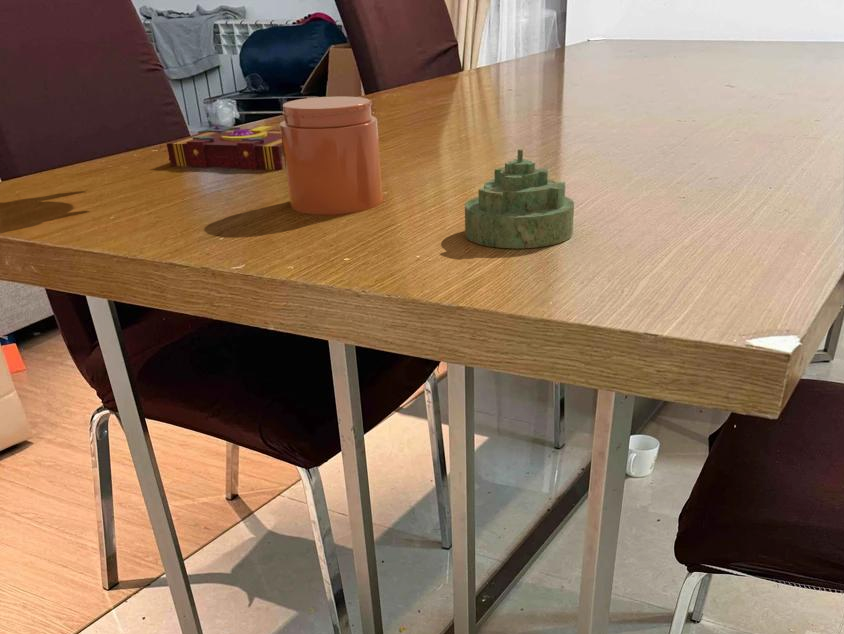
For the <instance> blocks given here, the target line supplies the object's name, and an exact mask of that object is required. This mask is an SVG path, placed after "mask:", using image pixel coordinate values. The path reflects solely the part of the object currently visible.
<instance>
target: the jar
mask: <svg viewBox="0 0 844 634" xmlns="http://www.w3.org/2000/svg"><path fill="white" fill-rule="evenodd" d="M372 105H373V101H372V100H371V99H369V98H366V97H361V96H347V95H346V96H345V95H343V96H337V95H335V96H319V97H317V96H316V97H307V98H299V99H294V100H289V101H286V102H284V103H283V104H282V110H283V111H282V116H283V117H284V120H282V121H281V122H280V123H279V128H280V129H279V130H281V137H282V145H283V152H284V159H285V167H284V168H285V173H286V180H287V181H286V182H287V187H288V196H289V203H290V208H291V209H292V210H294V211H295V212H298V213H304V214H309V215H344V214H353V213H358V212H364V211H368V210H371V209H374V208H377V207H379V206H380V205H382V204H383V202H384V195H383V182H382V169H381V168H382V167H381V154H380V139H379V138H380V137H379V129H378V128H379V127H378V126H379V125H378V118H377V117H376V116H373V115H372Z"/></svg>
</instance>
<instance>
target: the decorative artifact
mask: <svg viewBox="0 0 844 634" xmlns="http://www.w3.org/2000/svg"><path fill="white" fill-rule="evenodd" d="M523 157H524V150H523V149H521V148H520V149H517V158H515V159H512V160H510V161H508V162H505V163H504V166H503V167H498V168H496V169H494V178H493V179H490V180H487V181H486V182H484V183H483V188H479V189H478V196H476V197H473V198H471V199H468V200H467V201H466V202H465V203H464V235H465V238H466V239H467V240H468V241H470V242H472V243H474V244H476V245H480V246H483V247H489V248H497V249H510V250H512V249H514V250H515V249H516V250H517V249H520V250H521V249H523V250H524V249H536V248H542V247H549V246H550V247H551V246H554V245H557V244H561V243H564V242H565V241H567V240H569V239H571V237H572V236H573V232H574V215H575V214H574V213H575V201H574V200H573V199H572V198H570V197H568V196H566V185H567V184H566V182H565V181H564V182H555V180H552V179H550V178H549V170H548V169H546V168H536V162H532V161H531V160H529V159H525V158H523Z"/></svg>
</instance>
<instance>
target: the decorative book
mask: <svg viewBox="0 0 844 634" xmlns="http://www.w3.org/2000/svg"><path fill="white" fill-rule="evenodd" d="M166 147H167V148H166V149H167V153H168V161H169V163H170V166H171V167H187V168H188V167H189V168H199V169H200V168H202V169H203V168H204V169H207V168H215V169H217V168H219V169H240V170H255V171H256V170H270V171H272V170H273V171H274V170H276V171H282V170H284V168H286V167H285V159H284V152H283V145H282V137H281V130H280V129H273V126H270V125H269V126H266V125H259V126H258V127H255V128H241V126H219V125H215V126H211V127H208V128H205V129H202V130H199V131H197V133H196V134H195V133H194V134H192V135H188V136H186V137H182V138H178V139H176V140H173V141H170V142H167V143H166Z"/></svg>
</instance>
